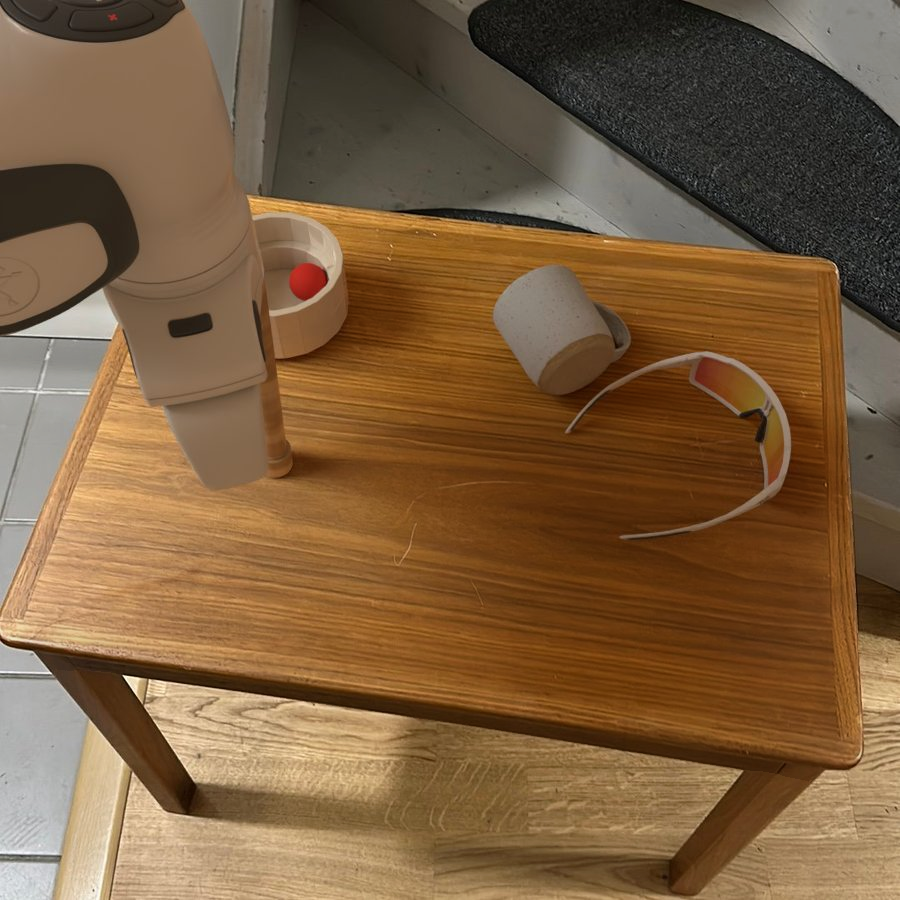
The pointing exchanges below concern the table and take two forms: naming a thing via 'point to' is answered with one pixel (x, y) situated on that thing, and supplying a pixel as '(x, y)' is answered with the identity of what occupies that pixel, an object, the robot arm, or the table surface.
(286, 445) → the stir stick
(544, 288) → the ceramic mug
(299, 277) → the red ball
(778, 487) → the sunglasses
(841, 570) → the table surface
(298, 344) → the bowl
